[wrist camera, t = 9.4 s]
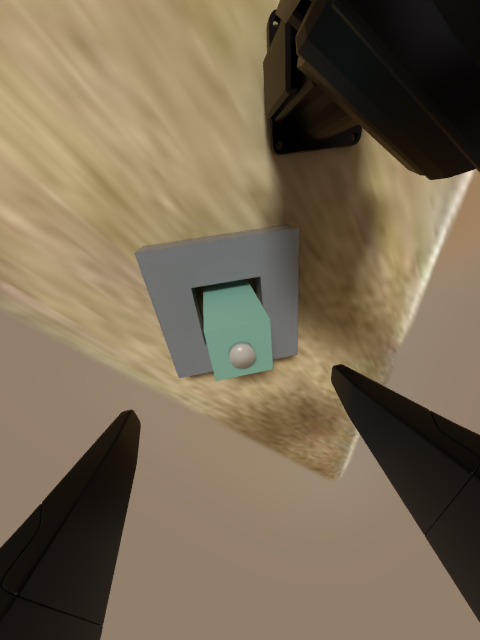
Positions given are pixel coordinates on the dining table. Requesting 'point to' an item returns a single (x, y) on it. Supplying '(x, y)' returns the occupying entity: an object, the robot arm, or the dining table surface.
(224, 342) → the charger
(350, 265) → the dining table surface
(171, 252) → the plate
